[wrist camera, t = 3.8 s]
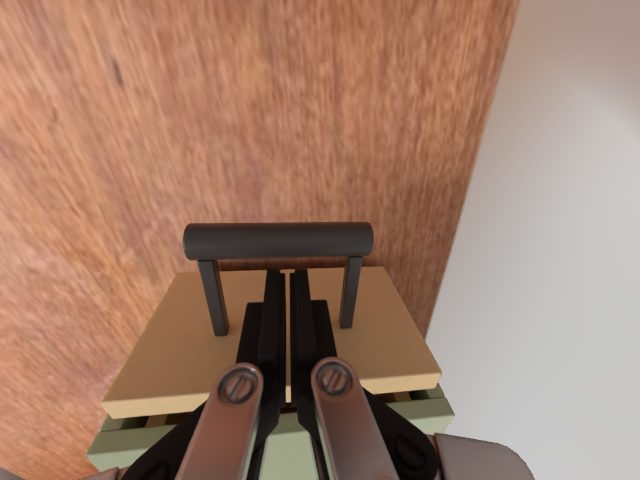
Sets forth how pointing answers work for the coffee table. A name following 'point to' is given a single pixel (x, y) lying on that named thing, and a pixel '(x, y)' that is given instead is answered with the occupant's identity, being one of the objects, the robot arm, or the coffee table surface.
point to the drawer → (248, 286)
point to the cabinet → (283, 443)
